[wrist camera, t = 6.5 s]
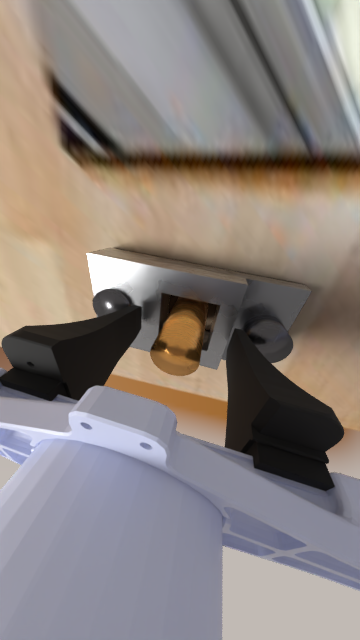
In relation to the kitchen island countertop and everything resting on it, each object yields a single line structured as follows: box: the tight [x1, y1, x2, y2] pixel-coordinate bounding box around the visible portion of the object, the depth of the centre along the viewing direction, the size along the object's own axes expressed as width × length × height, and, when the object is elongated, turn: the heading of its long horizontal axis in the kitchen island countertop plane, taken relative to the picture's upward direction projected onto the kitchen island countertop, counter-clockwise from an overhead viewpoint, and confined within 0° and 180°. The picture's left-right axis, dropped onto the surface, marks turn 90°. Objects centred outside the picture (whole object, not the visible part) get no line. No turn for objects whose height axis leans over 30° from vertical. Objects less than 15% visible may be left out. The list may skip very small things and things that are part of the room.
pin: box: [150, 296, 208, 376], centre depth 13 cm, size 3×3×7 cm
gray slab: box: [87, 248, 312, 370], centre depth 14 cm, size 16×8×4 cm, turn 82°
